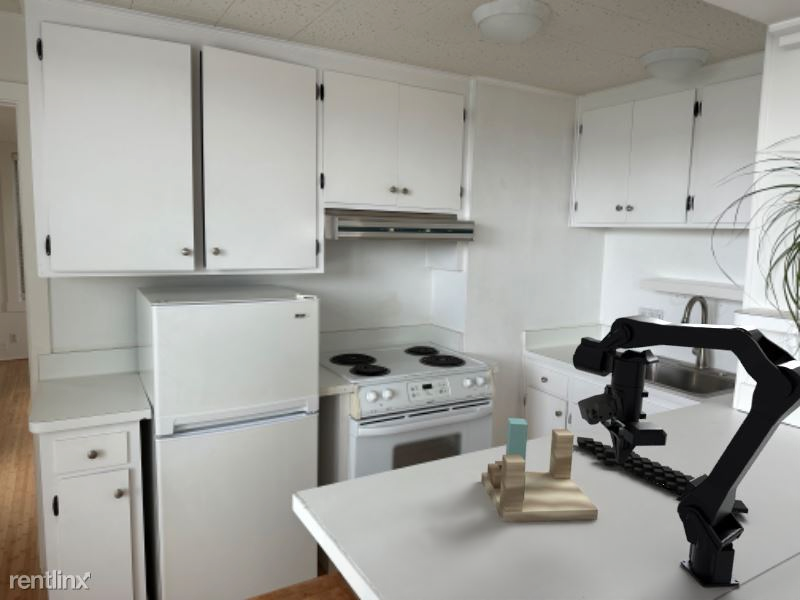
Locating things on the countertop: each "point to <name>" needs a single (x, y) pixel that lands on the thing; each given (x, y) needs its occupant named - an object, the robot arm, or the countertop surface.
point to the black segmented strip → (646, 468)
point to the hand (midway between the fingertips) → (620, 462)
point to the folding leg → (516, 437)
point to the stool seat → (538, 486)
